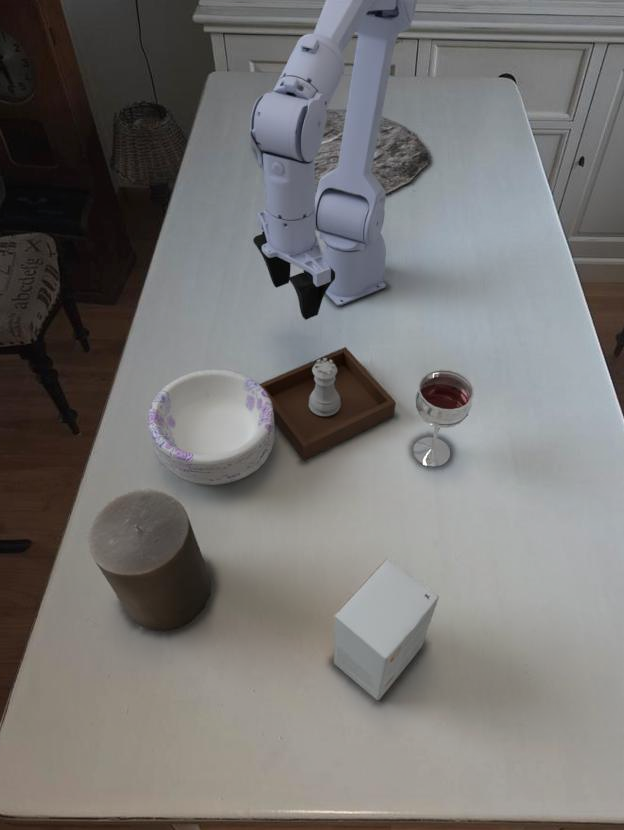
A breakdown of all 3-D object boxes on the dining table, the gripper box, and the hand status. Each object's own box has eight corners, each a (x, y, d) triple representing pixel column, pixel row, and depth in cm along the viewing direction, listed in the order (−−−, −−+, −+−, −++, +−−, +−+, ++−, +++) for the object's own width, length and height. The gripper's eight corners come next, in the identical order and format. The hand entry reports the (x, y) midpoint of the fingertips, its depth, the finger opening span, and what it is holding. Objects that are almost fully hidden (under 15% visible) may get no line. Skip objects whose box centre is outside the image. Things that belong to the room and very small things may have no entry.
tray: (344, 361, 93) (345, 346, 91) (394, 416, 88) (396, 402, 85) (258, 400, 88) (256, 385, 86) (304, 460, 83) (303, 446, 80)
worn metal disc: (320, 95, 141) (320, 93, 140) (455, 146, 130) (455, 144, 129) (219, 156, 125) (218, 154, 124) (363, 220, 114) (363, 218, 114)
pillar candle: (217, 618, 70) (195, 554, 57) (127, 642, 68) (84, 580, 56) (203, 544, 75) (180, 471, 63) (120, 564, 73) (78, 492, 61)
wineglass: (397, 440, 85) (407, 377, 75) (442, 426, 87) (457, 363, 77) (420, 478, 82) (434, 417, 72) (466, 462, 83) (485, 401, 73)
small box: (378, 610, 71) (387, 555, 60) (423, 645, 69) (441, 595, 58) (331, 663, 67) (332, 615, 57) (377, 703, 65) (387, 660, 54)
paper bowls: (300, 453, 83) (298, 413, 77) (208, 520, 77) (197, 483, 70) (228, 391, 89) (221, 349, 83) (137, 448, 83) (121, 408, 76)
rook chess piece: (337, 421, 86) (338, 380, 79) (305, 415, 86) (303, 374, 80) (343, 397, 89) (345, 355, 82) (312, 392, 89) (311, 350, 82)
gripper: (231, 186, 76) (243, 280, 87) (293, 249, 69) (297, 342, 81) (282, 170, 78) (287, 263, 90) (346, 229, 72) (343, 322, 83)
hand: (295, 299), depth 85 cm, fingers open, 7 cm apart
